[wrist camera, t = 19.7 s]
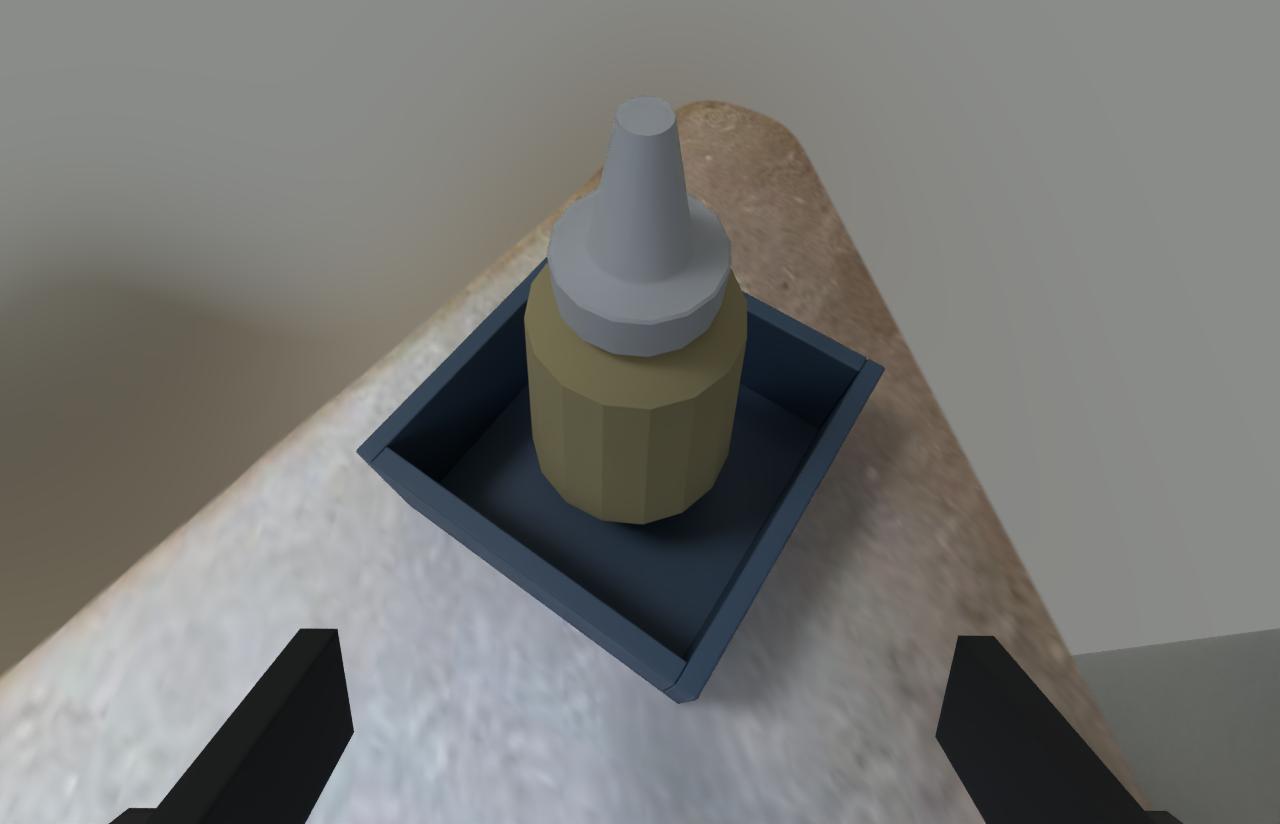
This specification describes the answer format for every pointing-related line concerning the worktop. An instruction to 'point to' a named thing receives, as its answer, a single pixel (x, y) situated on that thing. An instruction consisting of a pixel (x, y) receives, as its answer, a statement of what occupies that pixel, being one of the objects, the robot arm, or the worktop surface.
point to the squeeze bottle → (635, 334)
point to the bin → (614, 551)
